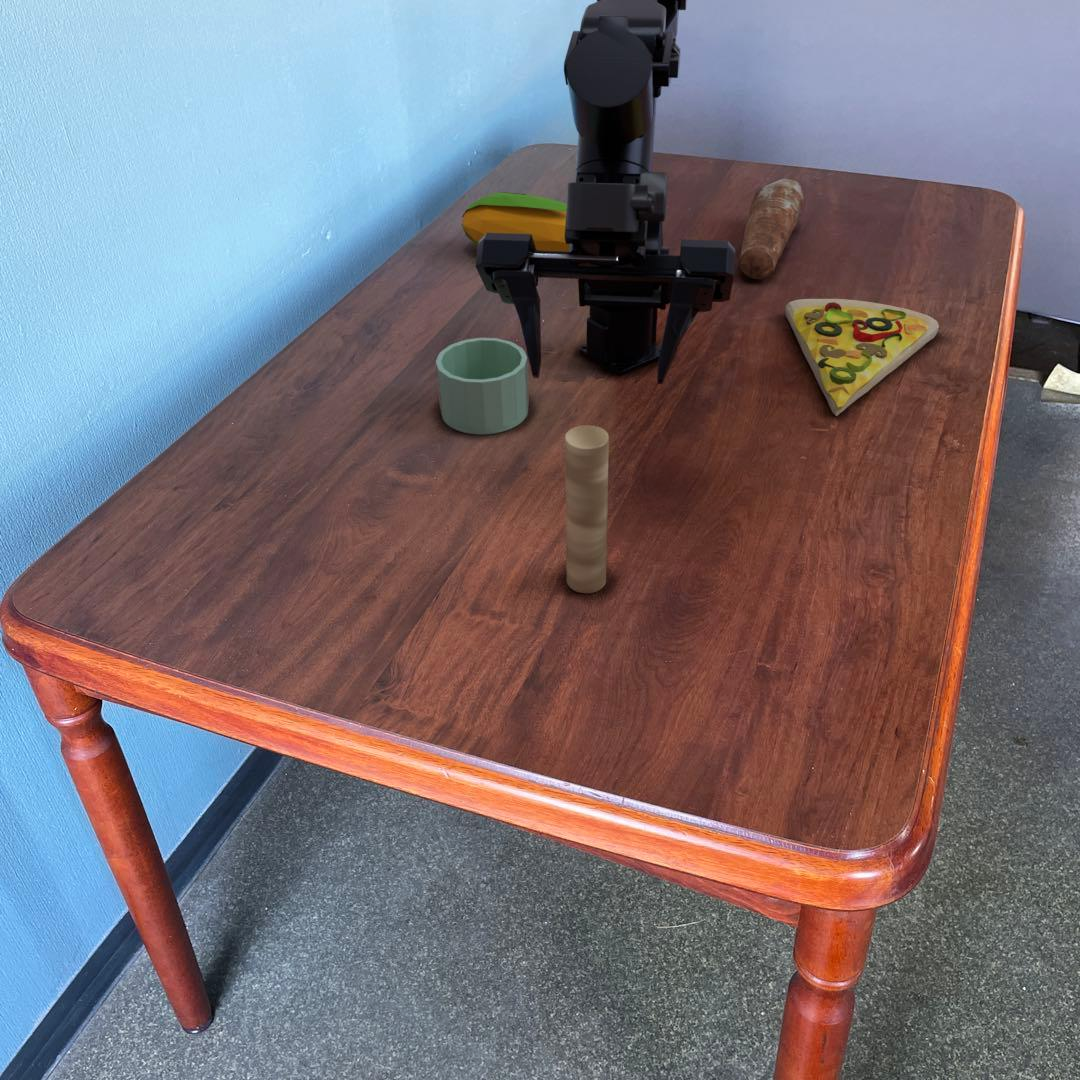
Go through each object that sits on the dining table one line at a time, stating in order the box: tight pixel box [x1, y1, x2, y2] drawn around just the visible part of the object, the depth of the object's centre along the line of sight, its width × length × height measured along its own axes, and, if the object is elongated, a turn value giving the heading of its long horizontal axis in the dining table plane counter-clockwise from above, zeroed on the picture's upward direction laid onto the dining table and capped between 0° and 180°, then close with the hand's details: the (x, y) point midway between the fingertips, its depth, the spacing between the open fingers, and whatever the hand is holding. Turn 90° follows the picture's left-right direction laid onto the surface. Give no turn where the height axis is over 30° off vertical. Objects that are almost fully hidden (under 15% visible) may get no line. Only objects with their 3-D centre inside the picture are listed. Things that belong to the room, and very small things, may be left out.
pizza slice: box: [785, 298, 940, 417], centre depth 105 cm, size 16×21×3 cm
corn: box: [461, 191, 569, 252], centre depth 125 cm, size 7×8×20 cm
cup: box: [435, 337, 530, 435], centre depth 99 cm, size 8×8×6 cm
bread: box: [738, 177, 806, 280], centre depth 126 cm, size 6×19×6 cm, turn 160°
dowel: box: [564, 424, 610, 594], centre depth 77 cm, size 3×3×13 cm
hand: (597, 379), depth 79 cm, fingers open, 9 cm apart
